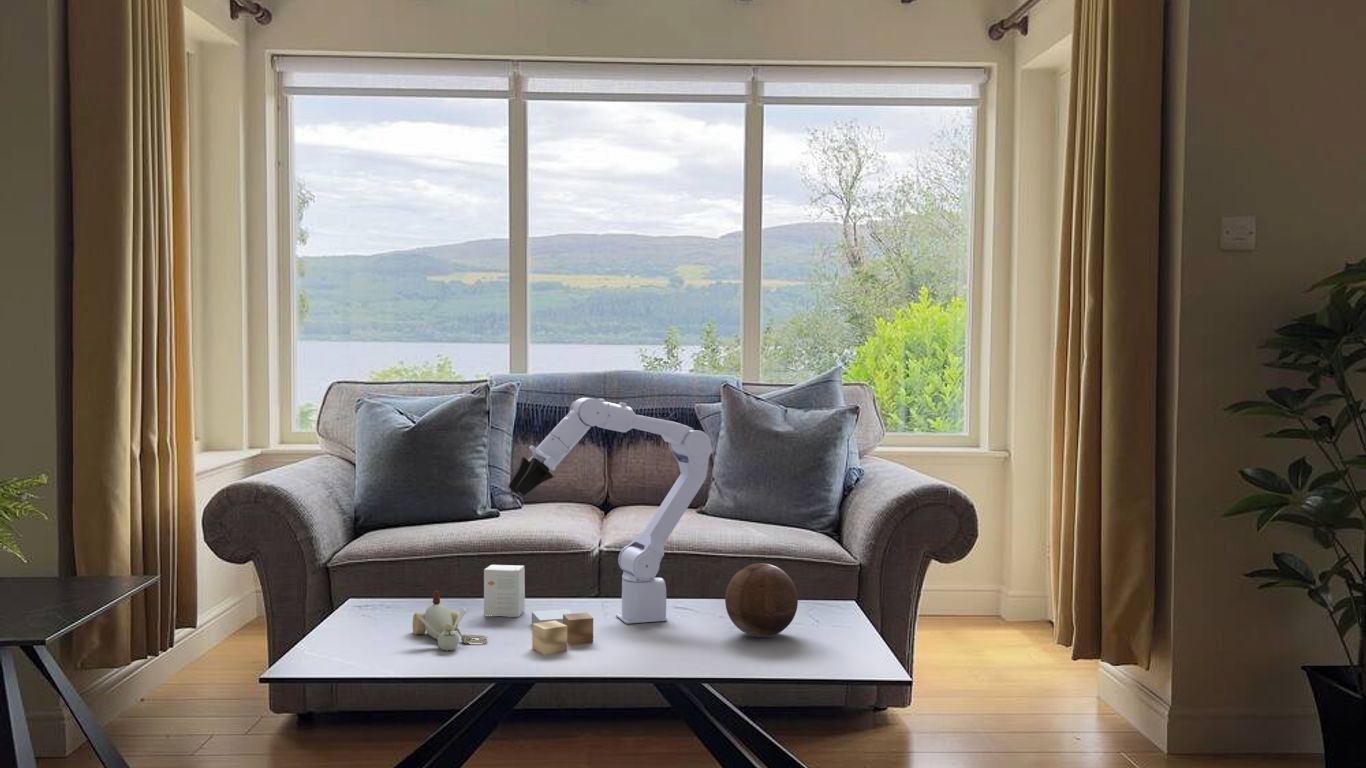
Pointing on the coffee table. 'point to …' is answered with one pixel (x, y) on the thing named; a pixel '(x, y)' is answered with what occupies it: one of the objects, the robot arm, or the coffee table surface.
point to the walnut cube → (579, 628)
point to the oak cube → (549, 637)
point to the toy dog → (442, 625)
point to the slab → (549, 615)
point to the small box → (504, 590)
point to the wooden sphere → (761, 600)
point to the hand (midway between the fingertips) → (515, 491)
